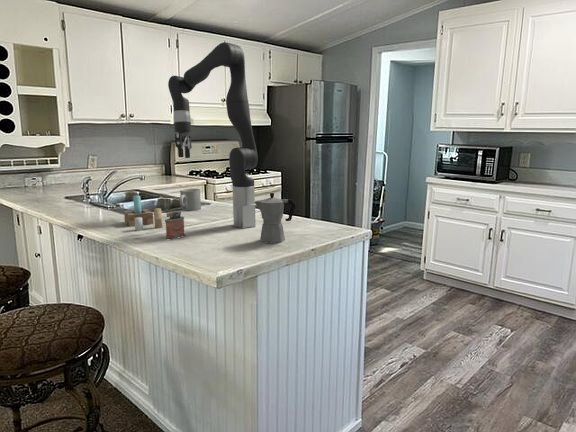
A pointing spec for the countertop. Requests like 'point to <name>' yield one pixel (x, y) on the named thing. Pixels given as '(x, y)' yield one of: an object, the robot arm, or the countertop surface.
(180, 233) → the lighter
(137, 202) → the teal pin
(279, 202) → the coffeepot
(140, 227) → the grey pin
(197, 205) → the coffee mug
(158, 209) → the beech pin
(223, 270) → the countertop surface
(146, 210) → the walnut block
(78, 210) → the countertop surface
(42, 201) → the countertop surface
